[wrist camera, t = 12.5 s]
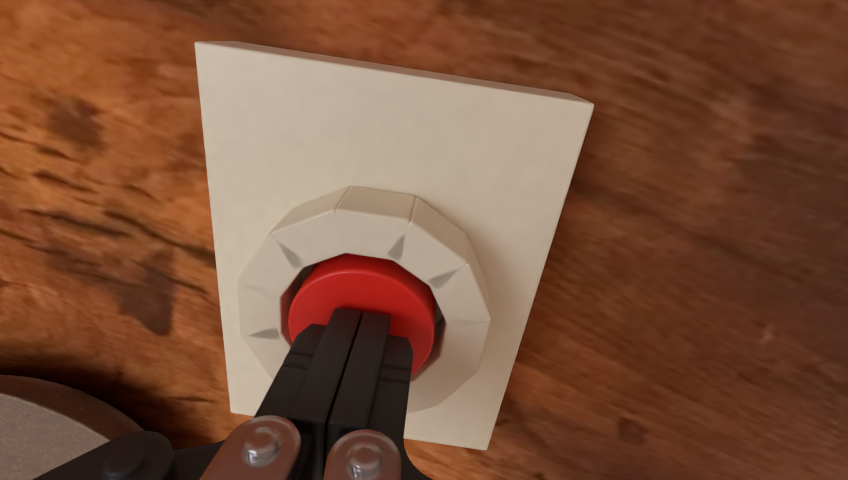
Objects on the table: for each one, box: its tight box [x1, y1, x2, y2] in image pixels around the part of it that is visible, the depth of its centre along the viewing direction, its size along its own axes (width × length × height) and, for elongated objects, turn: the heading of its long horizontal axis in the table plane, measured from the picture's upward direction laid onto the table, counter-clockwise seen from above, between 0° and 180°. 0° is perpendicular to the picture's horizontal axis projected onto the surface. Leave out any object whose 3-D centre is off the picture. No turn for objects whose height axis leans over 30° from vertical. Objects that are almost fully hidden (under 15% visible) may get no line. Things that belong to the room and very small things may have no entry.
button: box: [288, 253, 436, 375], centre depth 12 cm, size 4×4×2 cm
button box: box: [195, 41, 594, 450], centre depth 13 cm, size 13×10×4 cm
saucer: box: [0, 375, 145, 480], centre depth 20 cm, size 15×15×3 cm
